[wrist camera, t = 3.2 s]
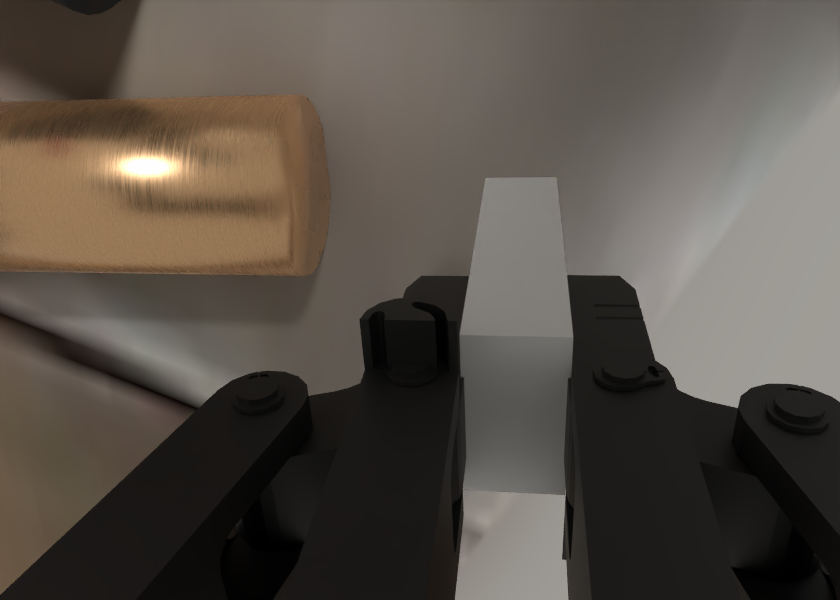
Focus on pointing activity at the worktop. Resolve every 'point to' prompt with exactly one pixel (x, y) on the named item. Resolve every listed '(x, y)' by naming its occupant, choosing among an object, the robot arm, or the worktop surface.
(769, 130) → the worktop surface
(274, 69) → the worktop surface
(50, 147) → the tube
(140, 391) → the worktop surface
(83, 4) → the pipe connector
